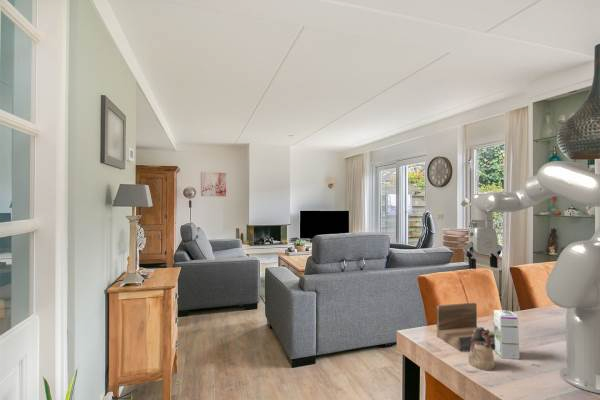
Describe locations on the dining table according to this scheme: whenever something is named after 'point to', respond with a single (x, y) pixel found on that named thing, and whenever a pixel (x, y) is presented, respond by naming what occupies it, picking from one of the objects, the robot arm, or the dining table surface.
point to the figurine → (481, 350)
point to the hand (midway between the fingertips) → (483, 268)
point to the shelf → (458, 325)
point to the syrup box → (506, 334)
